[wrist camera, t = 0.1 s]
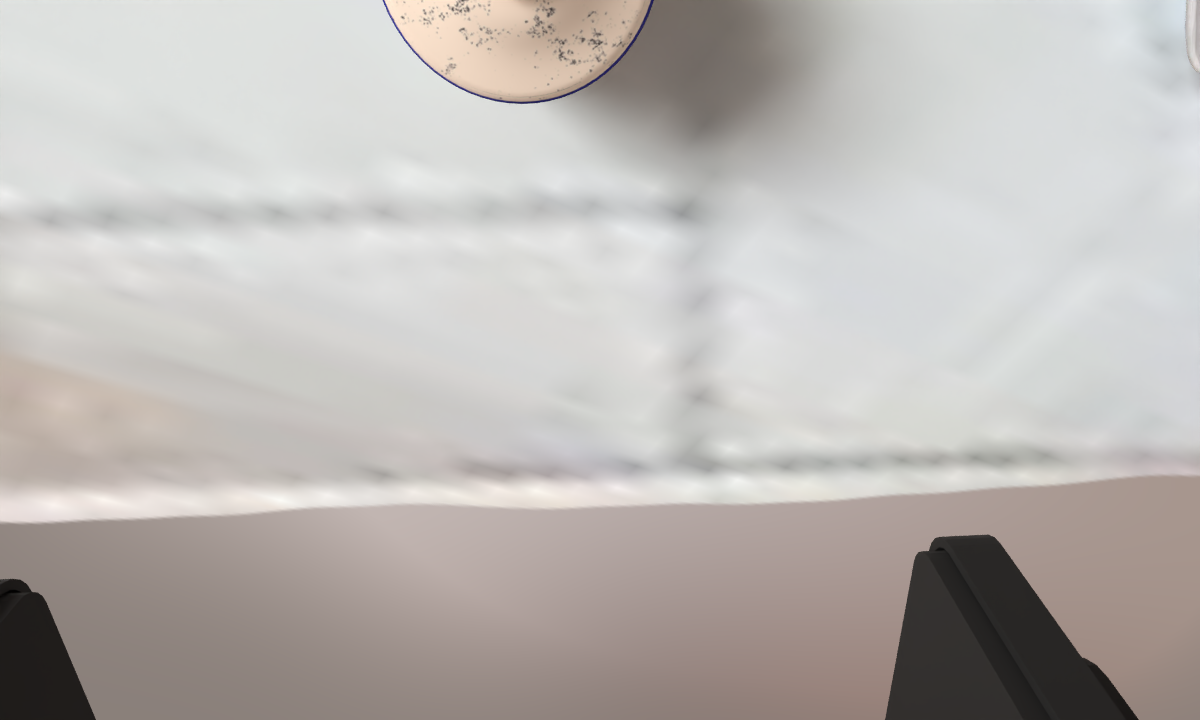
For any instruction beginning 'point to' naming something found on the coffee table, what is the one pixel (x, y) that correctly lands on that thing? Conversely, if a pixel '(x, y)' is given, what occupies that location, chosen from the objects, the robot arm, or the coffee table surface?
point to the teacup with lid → (519, 42)
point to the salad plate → (1193, 32)
